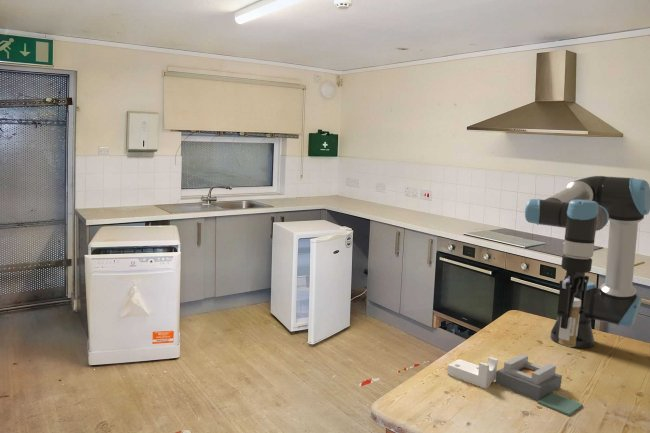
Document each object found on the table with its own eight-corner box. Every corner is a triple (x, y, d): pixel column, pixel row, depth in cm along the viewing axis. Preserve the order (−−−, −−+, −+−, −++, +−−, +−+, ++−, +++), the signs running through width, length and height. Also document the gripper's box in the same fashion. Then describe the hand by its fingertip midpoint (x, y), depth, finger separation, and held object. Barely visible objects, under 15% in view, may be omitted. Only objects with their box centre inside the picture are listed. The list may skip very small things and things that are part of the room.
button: (524, 377, 171) (525, 368, 170) (539, 383, 167) (540, 373, 167) (517, 381, 167) (517, 372, 167) (531, 387, 164) (532, 377, 163)
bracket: (495, 382, 169) (497, 359, 168) (485, 389, 164) (487, 365, 163) (458, 369, 178) (459, 347, 177) (447, 375, 173) (448, 352, 172)
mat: (552, 394, 162) (552, 392, 162) (582, 406, 156) (583, 404, 156) (537, 403, 156) (537, 401, 156) (568, 416, 150) (569, 414, 150)
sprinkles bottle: (579, 345, 153) (584, 299, 151) (569, 348, 150) (575, 301, 148) (564, 340, 156) (569, 295, 155) (554, 342, 154) (560, 297, 152)
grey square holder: (518, 371, 177) (520, 351, 176) (560, 387, 167) (562, 366, 166) (495, 383, 168) (497, 361, 167) (538, 401, 158) (541, 378, 157)
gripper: (577, 250, 158) (568, 327, 162) (549, 257, 147) (540, 339, 150) (604, 255, 153) (594, 334, 156) (577, 262, 141) (567, 348, 145)
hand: (567, 336), depth 153 cm, fingers closed on sprinkles bottle, 4 cm apart
